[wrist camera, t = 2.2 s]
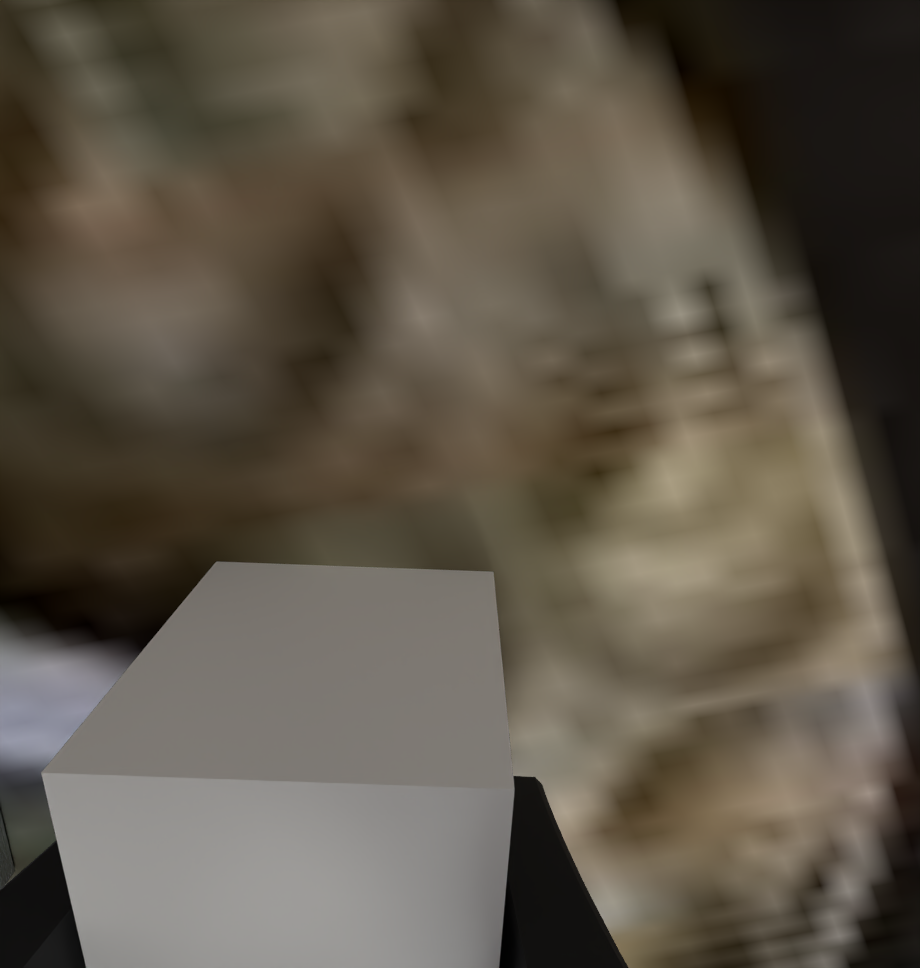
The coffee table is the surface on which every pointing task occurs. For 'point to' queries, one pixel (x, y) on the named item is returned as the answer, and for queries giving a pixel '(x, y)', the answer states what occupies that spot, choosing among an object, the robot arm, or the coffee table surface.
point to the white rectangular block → (297, 778)
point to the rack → (5, 857)
